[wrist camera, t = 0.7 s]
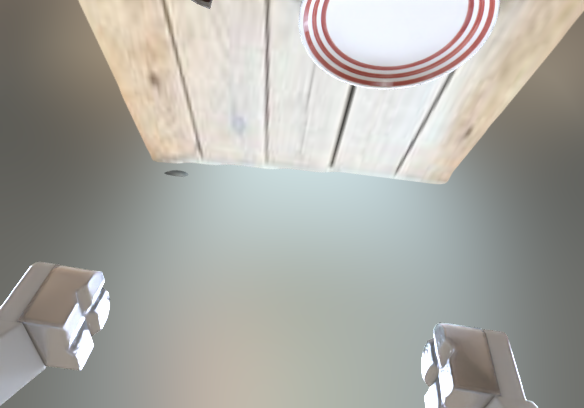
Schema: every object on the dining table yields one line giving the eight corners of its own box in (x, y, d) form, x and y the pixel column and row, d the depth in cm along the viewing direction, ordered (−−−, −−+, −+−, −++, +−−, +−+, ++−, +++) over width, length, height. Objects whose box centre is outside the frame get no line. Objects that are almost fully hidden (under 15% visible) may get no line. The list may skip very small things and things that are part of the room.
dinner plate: (335, -112, 51) (333, -92, 49) (546, -46, 56) (550, -27, 54) (282, 53, 75) (280, 69, 74) (431, 88, 80) (432, 103, 79)
